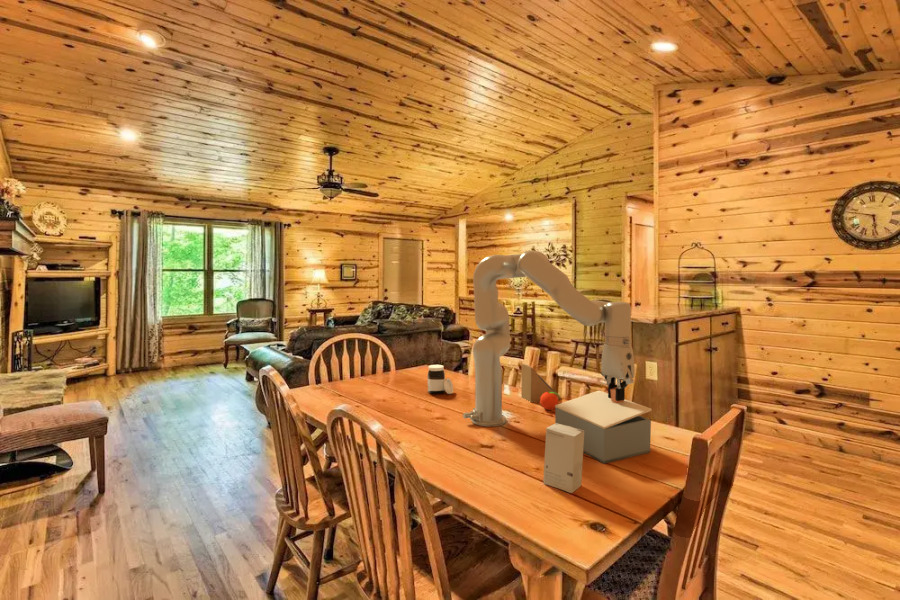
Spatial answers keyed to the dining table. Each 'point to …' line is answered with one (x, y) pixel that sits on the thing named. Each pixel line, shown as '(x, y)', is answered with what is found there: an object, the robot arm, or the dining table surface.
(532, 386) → the sandwich container
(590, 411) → the lid flap
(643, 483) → the dining table surface
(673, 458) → the dining table surface
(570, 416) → the carton
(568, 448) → the skincare box
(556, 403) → the tomato
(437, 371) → the spread jar
